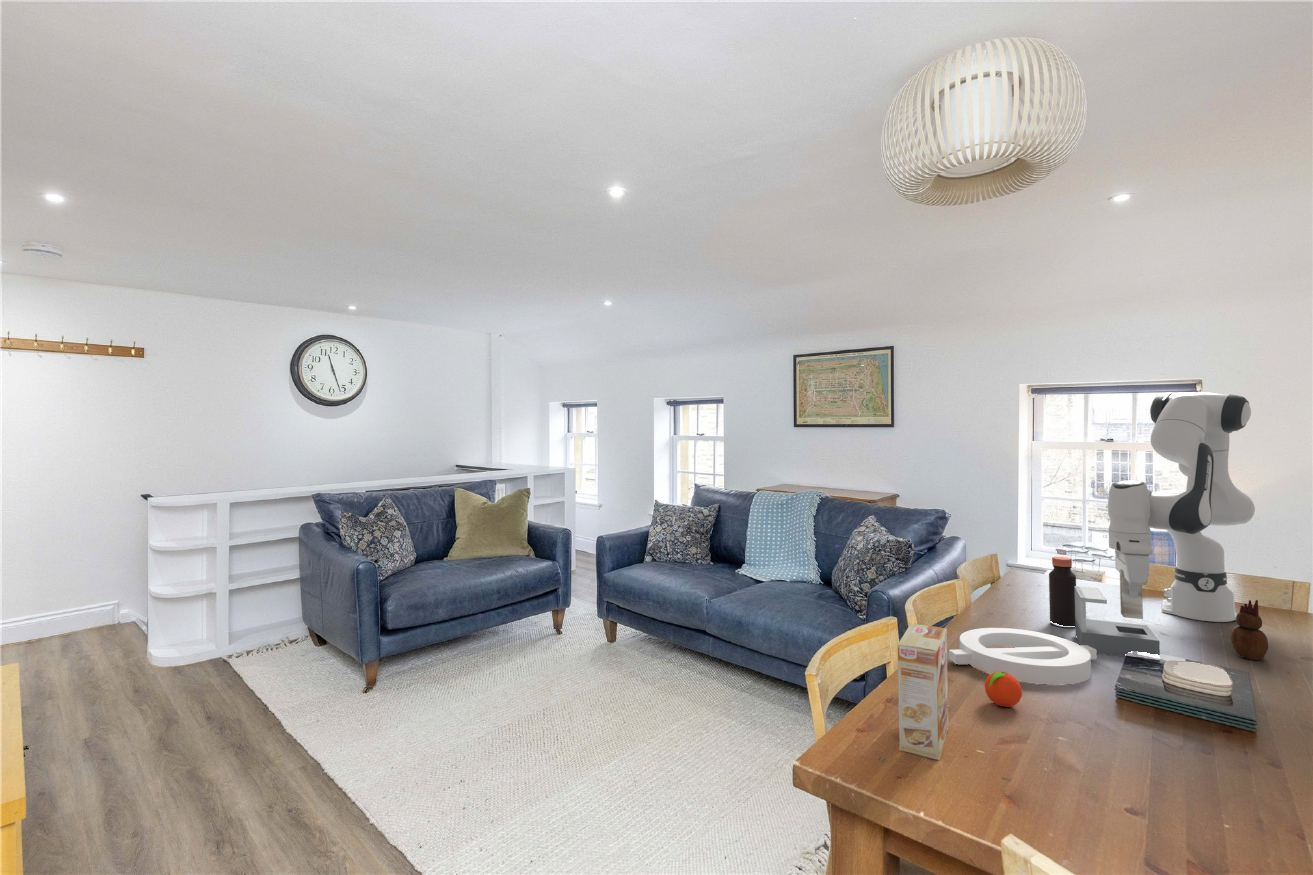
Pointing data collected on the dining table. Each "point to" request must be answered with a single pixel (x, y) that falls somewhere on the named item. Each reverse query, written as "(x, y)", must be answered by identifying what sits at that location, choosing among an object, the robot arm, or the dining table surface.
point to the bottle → (1062, 592)
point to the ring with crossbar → (1026, 655)
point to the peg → (1130, 600)
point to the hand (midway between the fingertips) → (1131, 594)
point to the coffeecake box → (923, 690)
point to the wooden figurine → (1249, 633)
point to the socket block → (1110, 629)
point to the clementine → (1003, 689)
